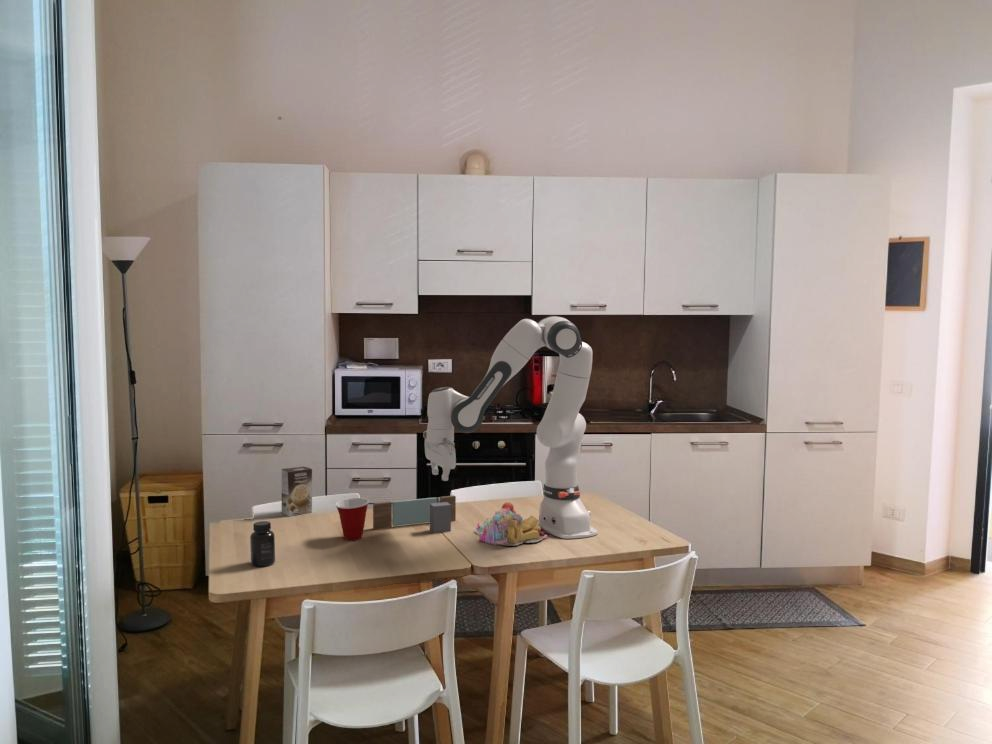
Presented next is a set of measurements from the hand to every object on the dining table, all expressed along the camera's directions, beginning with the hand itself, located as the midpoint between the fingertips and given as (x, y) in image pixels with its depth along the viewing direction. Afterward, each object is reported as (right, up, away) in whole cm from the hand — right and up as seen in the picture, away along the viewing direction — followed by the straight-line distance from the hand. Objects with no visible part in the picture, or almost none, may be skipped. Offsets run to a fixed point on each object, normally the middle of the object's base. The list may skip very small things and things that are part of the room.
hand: (440, 477), depth 267 cm
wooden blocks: (-9, -17, +9) cm, 21 cm away
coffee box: (-53, -16, +22) cm, 59 cm away
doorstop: (0, -18, +2) cm, 18 cm away
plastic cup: (-28, -19, -7) cm, 34 cm away
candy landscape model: (+23, -19, -3) cm, 30 cm away
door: (-9, -17, +9) cm, 21 cm away
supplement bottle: (-49, -21, -33) cm, 63 cm away
